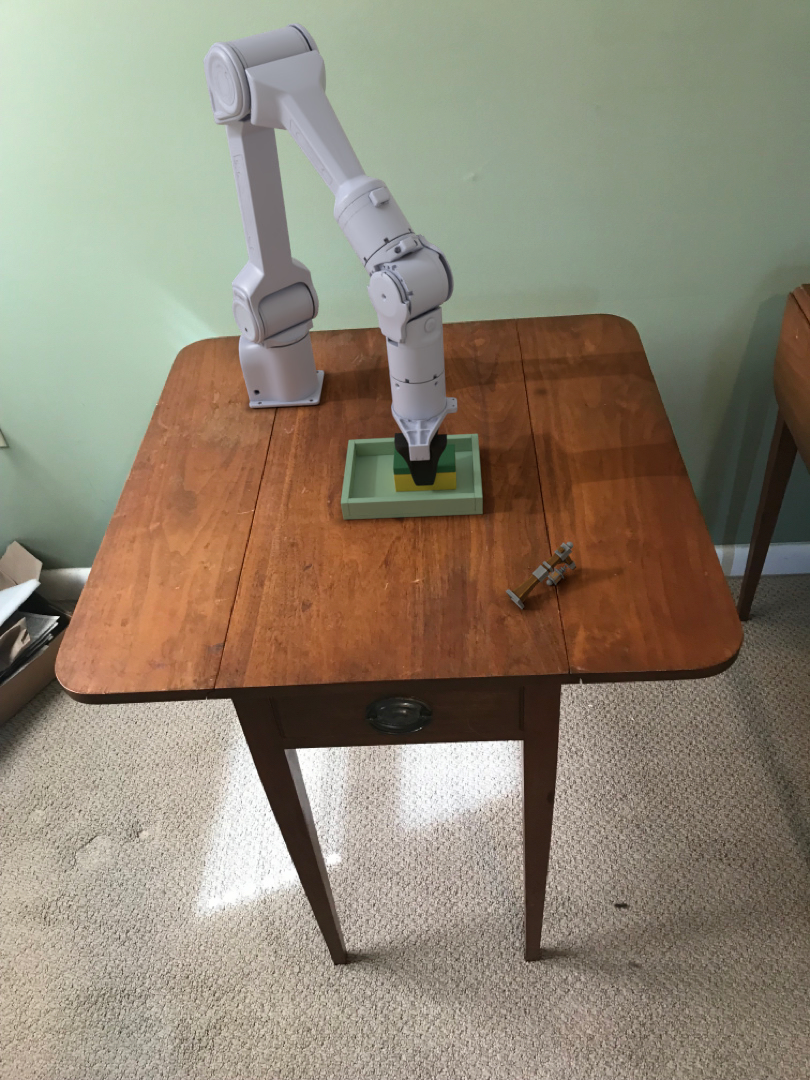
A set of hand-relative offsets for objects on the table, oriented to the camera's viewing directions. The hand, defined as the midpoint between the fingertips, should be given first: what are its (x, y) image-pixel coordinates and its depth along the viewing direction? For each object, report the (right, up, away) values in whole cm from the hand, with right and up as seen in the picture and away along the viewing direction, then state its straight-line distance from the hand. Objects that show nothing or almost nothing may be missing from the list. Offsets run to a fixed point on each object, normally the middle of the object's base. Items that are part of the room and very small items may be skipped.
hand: (424, 471), depth 89 cm
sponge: (0, -1, +1) cm, 1 cm away
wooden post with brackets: (+11, -13, -12) cm, 21 cm away
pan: (-1, -1, +1) cm, 2 cm away
